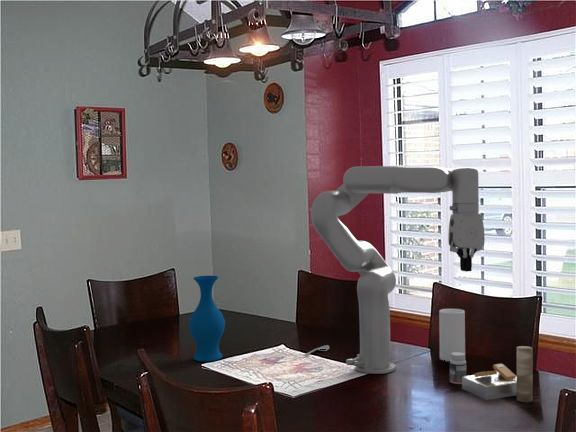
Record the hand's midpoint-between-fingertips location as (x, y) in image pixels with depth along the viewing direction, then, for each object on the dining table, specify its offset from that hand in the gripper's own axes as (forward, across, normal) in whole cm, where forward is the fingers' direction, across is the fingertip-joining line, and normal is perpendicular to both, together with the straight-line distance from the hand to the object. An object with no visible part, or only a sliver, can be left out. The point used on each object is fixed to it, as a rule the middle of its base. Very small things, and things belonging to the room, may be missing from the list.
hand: (466, 270), depth 197 cm
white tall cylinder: (+32, +9, +20) cm, 39 cm away
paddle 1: (+28, -4, -14) cm, 31 cm away
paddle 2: (+28, +2, -14) cm, 31 cm away
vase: (+32, -65, +56) cm, 92 cm away
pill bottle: (+32, -5, -2) cm, 33 cm away
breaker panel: (+32, -1, -14) cm, 35 cm away
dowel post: (+32, +1, -24) cm, 40 cm away
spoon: (+33, -31, +46) cm, 65 cm away
